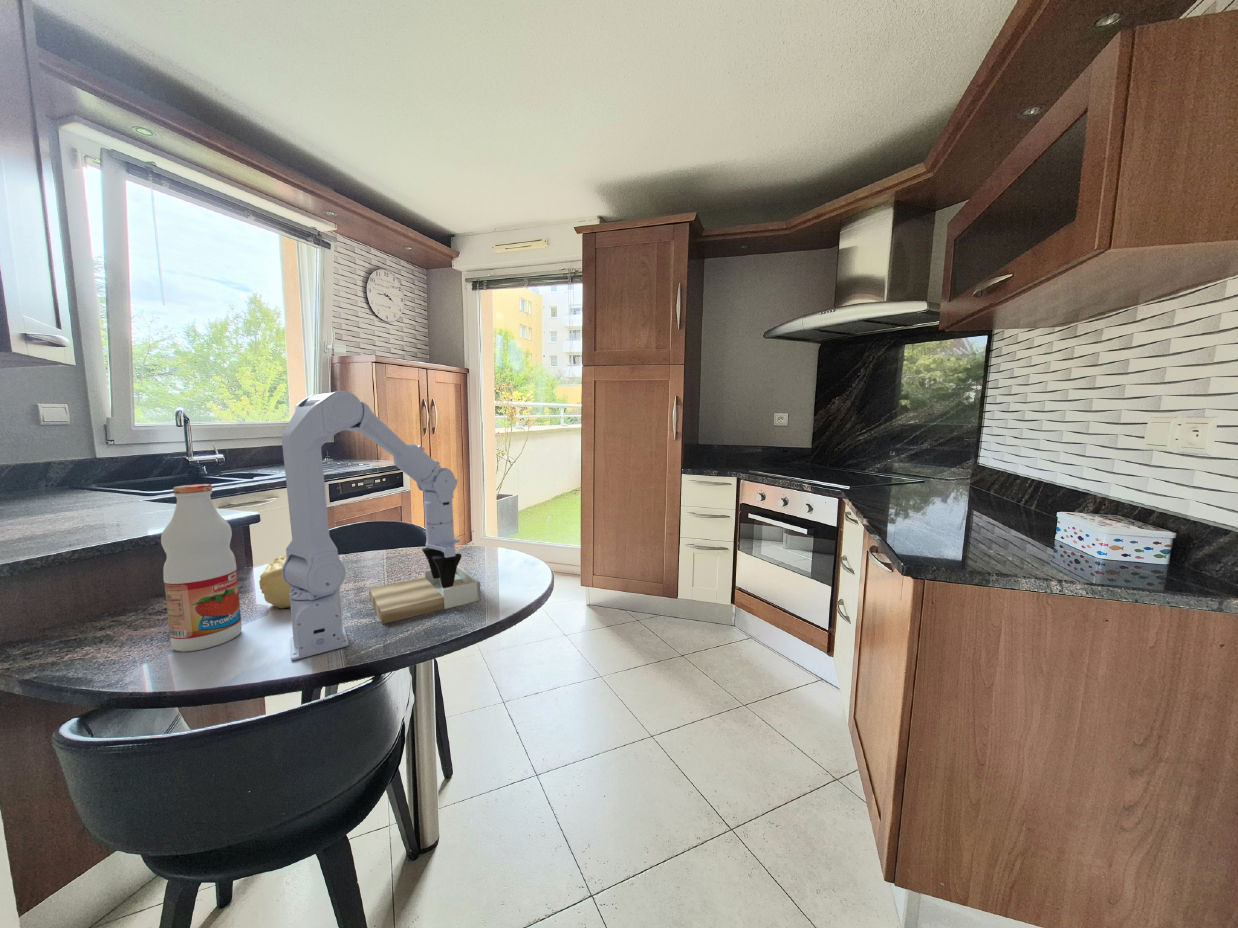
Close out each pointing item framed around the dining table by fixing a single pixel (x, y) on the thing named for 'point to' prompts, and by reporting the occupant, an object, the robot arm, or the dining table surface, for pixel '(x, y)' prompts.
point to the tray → (457, 589)
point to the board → (405, 599)
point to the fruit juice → (199, 573)
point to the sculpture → (275, 584)
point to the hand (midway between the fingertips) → (442, 582)
